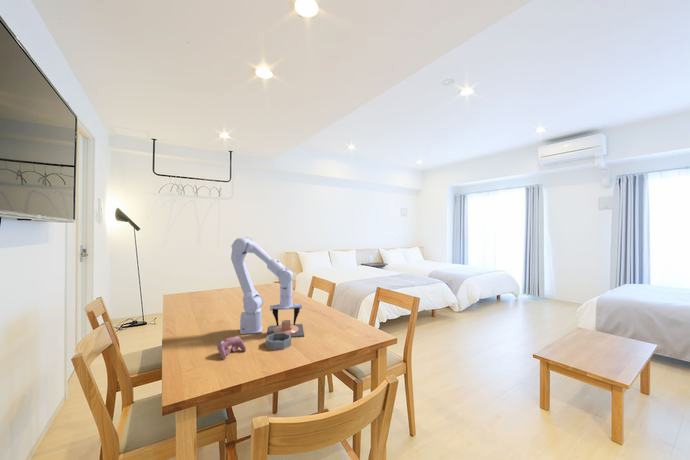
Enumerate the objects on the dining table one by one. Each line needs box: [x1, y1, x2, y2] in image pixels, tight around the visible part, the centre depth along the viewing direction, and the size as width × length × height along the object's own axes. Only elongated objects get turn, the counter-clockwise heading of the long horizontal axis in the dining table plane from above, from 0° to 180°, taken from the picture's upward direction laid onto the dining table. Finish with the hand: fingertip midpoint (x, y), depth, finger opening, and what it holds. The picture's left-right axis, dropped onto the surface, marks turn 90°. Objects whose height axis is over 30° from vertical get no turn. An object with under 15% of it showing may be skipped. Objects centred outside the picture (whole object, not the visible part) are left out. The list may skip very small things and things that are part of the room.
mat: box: [267, 323, 305, 338], centre depth 134 cm, size 16×15×1 cm
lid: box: [273, 319, 299, 335], centre depth 133 cm, size 12×12×4 cm
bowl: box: [265, 333, 292, 351], centre depth 120 cm, size 10×10×3 cm
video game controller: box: [216, 336, 247, 360], centre depth 111 cm, size 10×5×7 cm, turn 142°
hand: (286, 324), depth 134 cm, fingers open, 7 cm apart
